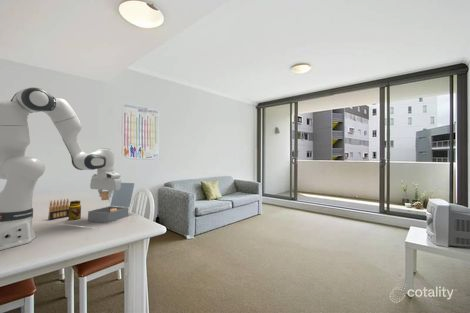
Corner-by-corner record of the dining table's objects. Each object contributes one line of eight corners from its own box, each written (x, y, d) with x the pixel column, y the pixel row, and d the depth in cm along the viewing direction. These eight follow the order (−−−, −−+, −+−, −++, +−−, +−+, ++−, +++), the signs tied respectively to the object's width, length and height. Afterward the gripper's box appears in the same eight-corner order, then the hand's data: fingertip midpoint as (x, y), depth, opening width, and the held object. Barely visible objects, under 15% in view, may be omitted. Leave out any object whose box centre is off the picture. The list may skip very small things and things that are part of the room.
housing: (108, 224, 126) (108, 213, 126) (87, 222, 130) (88, 211, 130) (128, 217, 142) (128, 207, 142) (109, 215, 145) (109, 206, 146)
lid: (133, 183, 146) (135, 183, 148) (115, 182, 150) (117, 182, 152) (128, 207, 142) (130, 207, 143) (110, 205, 146) (112, 205, 147)
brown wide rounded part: (104, 200, 130) (105, 192, 130) (99, 199, 131) (99, 191, 131) (110, 199, 134) (110, 191, 134) (105, 198, 135) (105, 190, 135)
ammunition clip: (49, 220, 132) (50, 200, 132) (48, 220, 133) (48, 200, 133) (69, 216, 142) (70, 198, 142) (68, 216, 142) (68, 198, 143)
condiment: (77, 222, 130) (77, 202, 130) (61, 222, 129) (62, 202, 129) (83, 218, 137) (84, 200, 137) (69, 219, 136) (70, 200, 136)
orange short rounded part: (113, 217, 137) (113, 209, 137) (108, 217, 138) (108, 209, 138) (118, 216, 141) (118, 208, 141) (113, 215, 142) (113, 208, 142)
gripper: (87, 174, 133) (87, 196, 132) (114, 175, 127) (114, 198, 127) (96, 173, 139) (96, 195, 139) (122, 174, 133) (122, 197, 133)
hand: (105, 197), depth 133 cm, fingers closed on brown wide rounded part, 4 cm apart
